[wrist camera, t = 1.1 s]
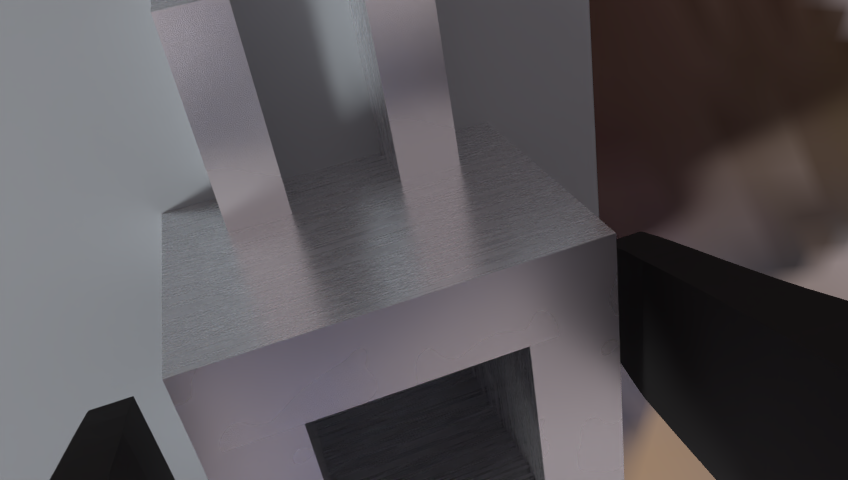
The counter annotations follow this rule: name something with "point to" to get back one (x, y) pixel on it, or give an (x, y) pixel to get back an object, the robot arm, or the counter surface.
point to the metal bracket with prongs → (381, 284)
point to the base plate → (188, 180)
